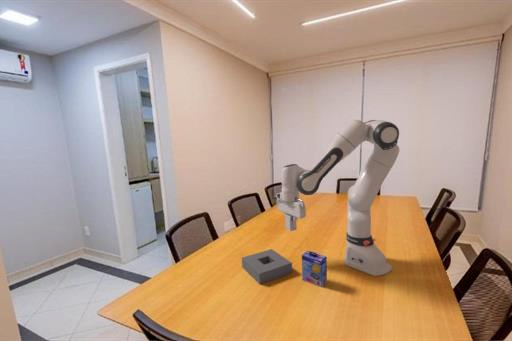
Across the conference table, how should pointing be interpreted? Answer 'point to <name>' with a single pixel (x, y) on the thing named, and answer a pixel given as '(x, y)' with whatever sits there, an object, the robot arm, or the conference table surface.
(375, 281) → the conference table surface
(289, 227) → the peg
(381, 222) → the conference table surface
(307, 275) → the ink cartridge box
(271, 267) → the socket block
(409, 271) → the conference table surface
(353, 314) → the conference table surface
